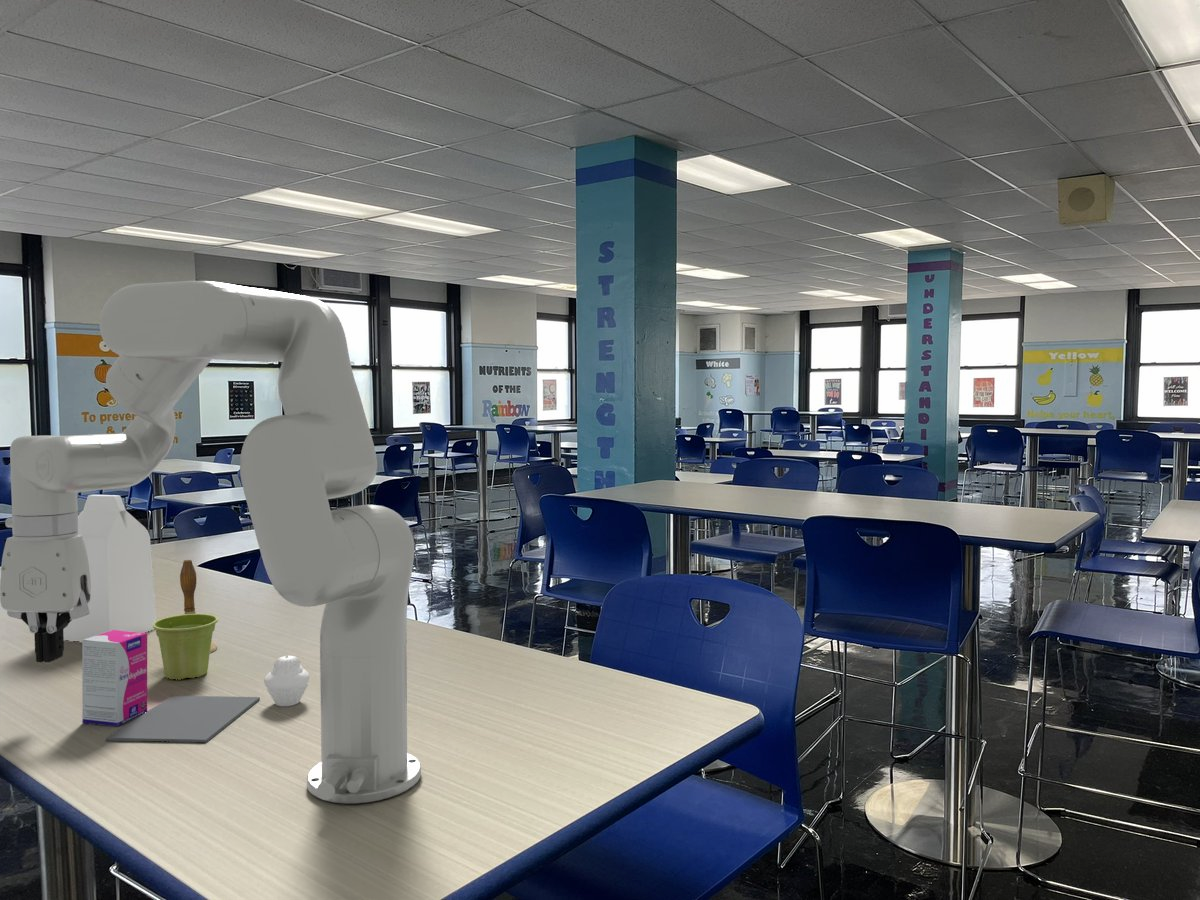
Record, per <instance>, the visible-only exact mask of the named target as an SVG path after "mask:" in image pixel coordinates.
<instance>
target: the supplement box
mask: <svg viewBox="0 0 1200 900" xmlns="http://www.w3.org/2000/svg"><path fill="white" fill-rule="evenodd" d="M81 645H82V647H81V648H82V652H81V653H82V655H81V656H82V663H81V664H82V668H81V669H82V670H81V671H82V675H81V676H82V682H81V683H82V685H81V687H82V688H81V689H82V691H81V692H82V693H81V695H82V700H81V701H82V702H81V703H82V705H81V707H82V710H81V711H82V716H81V717H82V719H81V723H82V724H84V723H89V724H88V725H95V724H98V725H99V726H105V725H107V726H106V727H119V726H121V725H122V724H124V723H127V722H129V721H131V720H134V719H136V718H138V717H139V716H141V714H142V715H143V714H144V713H145V712H147V711H148V632H146V633H141V632H128V631H118V630H112V631H109V632H106V633H103V634H100V635H96V636H93V637H90V638H87V639H84V640H83V641H82V642H81Z"/></svg>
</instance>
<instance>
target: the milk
mask: <svg viewBox="0 0 1200 900" xmlns="http://www.w3.org/2000/svg"><path fill="white" fill-rule="evenodd" d="M78 535H82V536H83V539H84V542H85V546H86V551H87V556H88V562H89V570H90V580H91V597H90V601H89V602H88V603H87V604H88V608H89V614H88V615H86V616H84V617H81V618H77V619H73V620H72V621H71V622H70V623H69V624H68V626H67V627H66V628H64V629H63V633H64V640H69V641H68V642H73V641H81V642H80V643H82V641H83V640H84V639H87V638H90V637H93V636H96V635H100V634H103V633H106V632H109V631H112V630H118V631H128V632H141V633H145V632H146V633H149V632H151V630H152V631H154V628H153V623H154V622H155V621H157V620H158V617H157V615H158V614H157V607H156V605H157V604H156V596H155V595H156V593H155V591H156V590H155V582H154V581H155V580H154V571H153V569H154V568H153V560H152V559H153V558H152V557H153V556H152V546H151V536H150V533H149V531H148V530H147V528H146V527H145V526H144V525H143V524H142V523H141V522H140V521H139V520H137V519H136V518H135V517H134V516H133V515H132V514H131V513H130V512H128V511H127V510H126V507H125V505H124V501H123V500H122V497H121V495H114V494H112V495H111V494H88V495H87V497H86V501H85V503H84V507H83V510H82V511H81V512H79V513H78ZM70 610H73V607H72V609H70ZM148 631H149V632H148Z"/></svg>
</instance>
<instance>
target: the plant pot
mask: <svg viewBox="0 0 1200 900" xmlns="http://www.w3.org/2000/svg"><path fill="white" fill-rule="evenodd" d="M218 622H219V617H218V616H216V615H213V614H209V613H195V614H185V613H184V614H178V615H176V614H175V615H171V616H167V617H163V618H160V619H157V621H155V622H154V623H153V628H154V629H155V634H156V636H157V638H158V641H159V647H160V648H159V649H160V653H161V658H162V666H163V671H164V676H165V678H166V679H168V678H169V679H168V680H173V679H176V680H175V681H181V679H182V680H184V679H186V678H189V679H196V678H195V677H197V678H199V677H202V676H204V675H207V673H208V671H209V662H210V655H211V653H210V648H211V641H212V640H213V632H214V631H215V628H216V623H218ZM177 679H178V680H177Z"/></svg>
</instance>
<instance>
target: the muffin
mask: <svg viewBox="0 0 1200 900" xmlns="http://www.w3.org/2000/svg"><path fill="white" fill-rule="evenodd" d="M309 681H310V674H309V672H308V671H307V670H306V669H305V668H304V667H303V666H302V665H301V661H300V659H299V658H298V657H297V656H295V655H288V654H287V655H283V656H281V657H278V658H277V659H276V660H274V663H273V667H272V668H271V670H270V672H268V673H267V674H266V675H265V678H264V685H265V687H266V688H267V689H266V690H267V693H268V694H269V695H270V697H271V698H272V700H273V702H274V704H275V705H276V706H278V707H292V706H295V705H297V704H299V703H300V702H301V700H302V697H303V695H304V694H305V691H306V690H307V687H308V683H309Z"/></svg>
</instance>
